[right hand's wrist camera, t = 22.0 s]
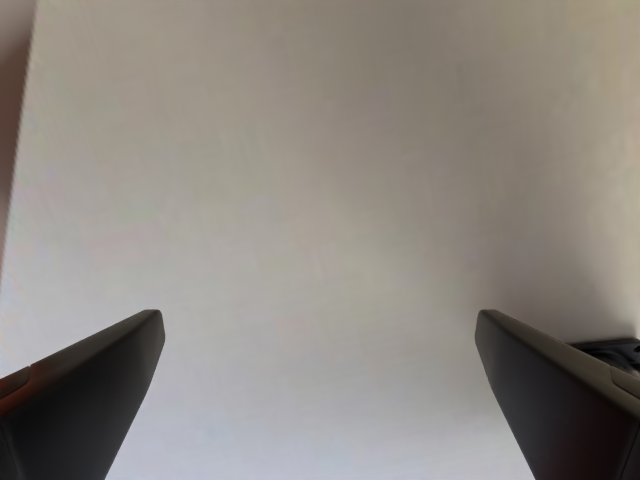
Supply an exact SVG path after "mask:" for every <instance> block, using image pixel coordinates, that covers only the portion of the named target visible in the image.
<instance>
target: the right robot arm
mask: <svg viewBox="0 0 640 480" xmlns="http://www.w3.org/2000/svg"><path fill="white" fill-rule="evenodd" d="M164 343H165V331H164V325H163V318H162V314H161V312H160V311H159V310H143V311H141V312H139V313H137V314H135V315H133V316H131V317H129V318H127V319H125V320H123V321H120V322H118V323H116V324H114V325H112V326H110V327H108V328H106V329H104V330H102V331H100V332H98V333H96V334H94V335H91V336H89V337H87V338H85V339H83V340H81V341H79V342H77V343H75V344H73V345H71V346H69V347H67V348H65V349H62V350H60V351H58V352H56V353H54V354H52V355H50V356H48V357H46V358H44V359H42V360H40V361H38V362H36V363H33V364H31V365H30V367H29V366H27V367H25V368H23V369H21V370H19V371H17V372H15V373H13V374H10V375H8V376H6V377H4V378H2V379H0V480H105V478H106V476H107V473H108V471H109V469H110V467H111V465H112V463H113V461H114V459H115V457H116V455H117V453H118V451H119V449H120V447H121V445H122V443H123V441H124V438H125V436H126V434H127V432H128V430H129V428H130V426H131V424H132V422H133V420H134V418H135V416H136V414H137V412H138V410H139V408H140V405H141V403H142V401H143V399H144V397H145V395H146V393H147V391H148V388H149V386H150V383H151V380H152V377H153V375H154V372H155V369H156V366H157V363H158V360H159V357H160V354H161V352H162V349H163V346H164ZM475 343H476V346H477V349H478V352H479V354H480V357H481V360H482V363H483V366H484V369H485V372H486V375H487V377H488V380H489V383H490V386H491V388H492V391H493V393H494V395H495V397H496V399H497V401H498V403H499V405H500V408H501V410H502V412H503V414H504V416H505V418H506V420H507V422H508V424H509V426H510V428H511V430H512V432H513V434H514V436H515V438H516V441H517V443H518V445H519V447H520V449H521V451H522V453H523V455H524V457H525V459H526V461H527V463H528V465H529V467H530V469H531V471H532V473H533V476H534V478H535V480H640V340H639V339H627V340H617V341H607V342H598V343H588V344H578V345H567V344H565V343H563V342H561V341H559V340H557V339H555V338H553V337H551V336H549V335H546V334H544V333H542V332H540V331H538V330H536V329H534V328H532V327H530V326H528V325H526V324H524V323H522V322H520V321H517V320H515V319H513V318H511V317H509V316H507V315H505V314H503V313H501V312H499V311H497V310H481V311H480V312H479V314H478V318H477V325H476V331H475ZM636 346H637V347H636ZM635 347H636V348H635Z"/></svg>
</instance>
